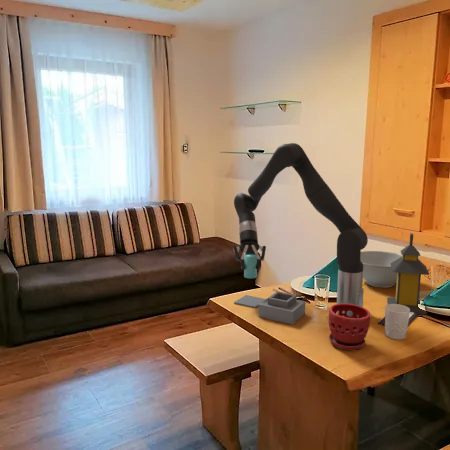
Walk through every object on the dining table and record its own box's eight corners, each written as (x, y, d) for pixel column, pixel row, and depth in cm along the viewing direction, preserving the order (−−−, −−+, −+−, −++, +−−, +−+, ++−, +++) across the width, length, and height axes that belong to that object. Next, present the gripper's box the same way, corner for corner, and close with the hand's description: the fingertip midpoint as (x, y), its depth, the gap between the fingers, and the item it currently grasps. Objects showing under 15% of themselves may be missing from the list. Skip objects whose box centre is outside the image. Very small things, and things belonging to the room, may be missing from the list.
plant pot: (334, 354, 143) (335, 318, 141) (323, 336, 156) (324, 303, 153) (374, 353, 144) (377, 317, 141) (360, 335, 156) (362, 302, 154)
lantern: (388, 311, 177) (393, 236, 171) (387, 298, 191) (391, 229, 185) (427, 315, 173) (433, 238, 167) (423, 302, 186) (429, 231, 181)
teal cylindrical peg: (259, 275, 186) (259, 254, 185) (253, 279, 182) (253, 257, 180) (248, 273, 189) (248, 252, 187) (241, 277, 185) (241, 255, 183)
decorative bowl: (376, 271, 228) (378, 248, 226) (423, 286, 206) (425, 260, 203) (337, 280, 215) (339, 255, 212) (383, 297, 192) (385, 270, 190)
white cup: (396, 342, 151) (398, 314, 149) (378, 333, 158) (380, 306, 156) (412, 337, 154) (415, 309, 152) (394, 328, 161) (396, 302, 159)
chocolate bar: (377, 322, 165) (394, 308, 179) (377, 325, 165) (394, 310, 179) (403, 329, 160) (418, 313, 173) (402, 331, 160) (417, 315, 174)
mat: (266, 300, 189) (266, 299, 189) (255, 308, 181) (255, 306, 181) (245, 296, 194) (245, 294, 194) (234, 303, 186) (234, 302, 186)
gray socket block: (304, 313, 175) (305, 295, 174) (292, 324, 165) (292, 305, 164) (272, 306, 182) (272, 288, 181) (258, 316, 172) (258, 298, 171)
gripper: (231, 229, 189) (233, 265, 179) (266, 228, 190) (269, 264, 180) (231, 238, 195) (232, 273, 186) (264, 238, 196) (267, 273, 186)
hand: (251, 269), depth 183 cm, fingers closed on teal cylindrical peg, 5 cm apart
